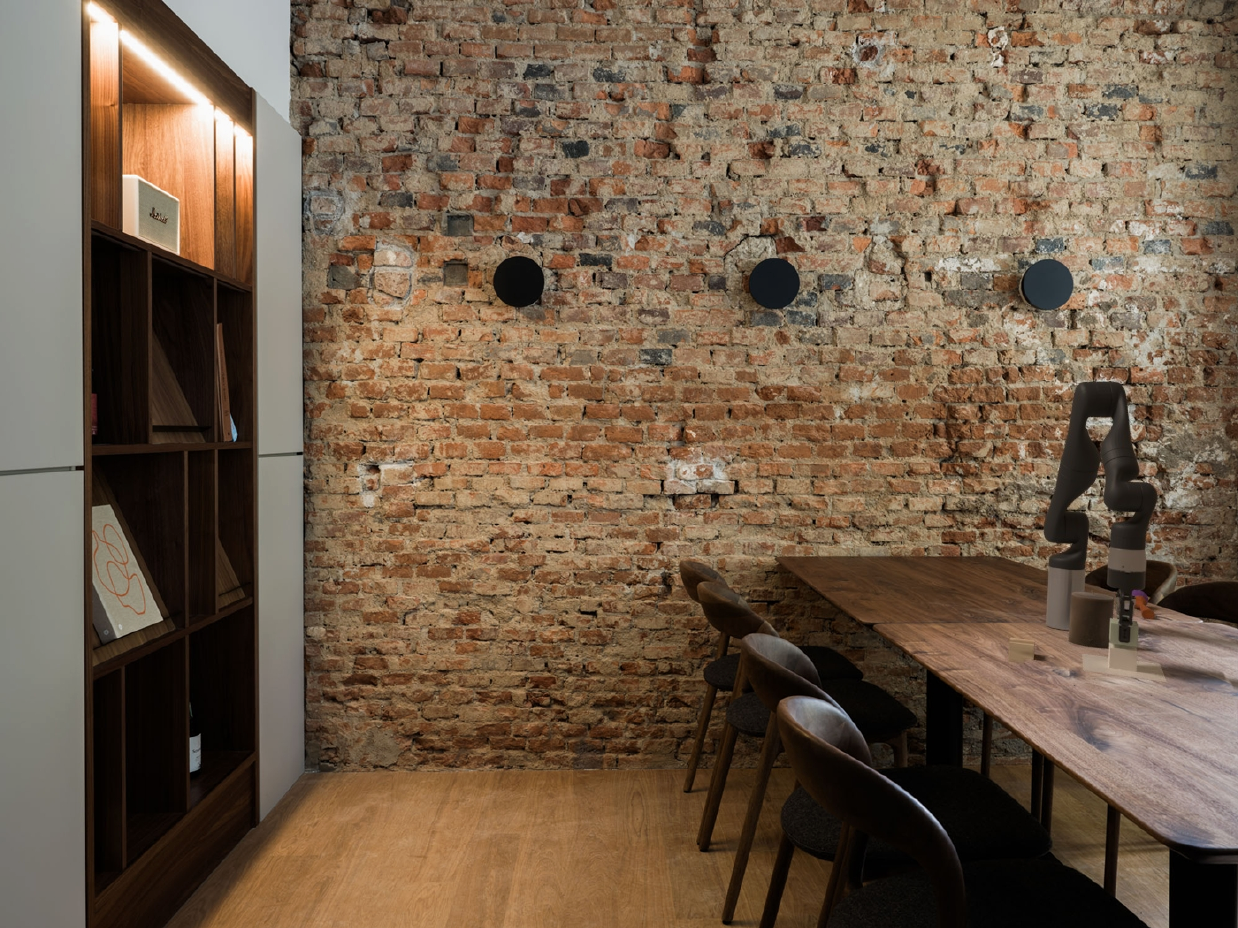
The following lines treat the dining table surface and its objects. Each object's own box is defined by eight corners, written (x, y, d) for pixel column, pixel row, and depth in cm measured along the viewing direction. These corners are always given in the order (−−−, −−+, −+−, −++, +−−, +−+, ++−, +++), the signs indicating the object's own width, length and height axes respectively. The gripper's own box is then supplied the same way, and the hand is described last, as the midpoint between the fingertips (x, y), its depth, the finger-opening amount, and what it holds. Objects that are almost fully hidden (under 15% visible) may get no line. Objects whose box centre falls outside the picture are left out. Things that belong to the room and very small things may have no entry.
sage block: (1109, 638, 193) (1110, 618, 193) (1135, 641, 190) (1136, 621, 190) (1110, 643, 188) (1111, 622, 188) (1137, 646, 186) (1138, 626, 185)
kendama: (1135, 605, 245) (1123, 588, 263) (1138, 624, 245) (1125, 606, 263) (1158, 604, 242) (1144, 586, 261) (1161, 623, 243) (1147, 604, 261)
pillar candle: (1090, 653, 205) (1093, 594, 204) (1059, 643, 214) (1062, 587, 213) (1120, 651, 207) (1124, 593, 207) (1089, 641, 217) (1092, 586, 216)
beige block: (1108, 662, 193) (1108, 642, 193) (1134, 665, 191) (1135, 645, 190) (1109, 668, 188) (1109, 647, 188) (1136, 671, 186) (1137, 651, 186)
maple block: (1009, 656, 202) (1010, 637, 201) (1034, 659, 199) (1034, 640, 199) (1008, 661, 197) (1009, 642, 197) (1033, 665, 194) (1034, 645, 194)
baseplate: (1081, 658, 200) (1082, 653, 200) (1159, 668, 193) (1159, 663, 193) (1082, 675, 186) (1083, 670, 186) (1166, 687, 179) (1166, 681, 179)
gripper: (1106, 561, 197) (1103, 630, 197) (1109, 570, 184) (1105, 643, 185) (1143, 564, 193) (1139, 634, 194) (1148, 573, 180) (1144, 648, 181)
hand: (1123, 638), depth 189 cm, fingers closed on sage block, 5 cm apart
